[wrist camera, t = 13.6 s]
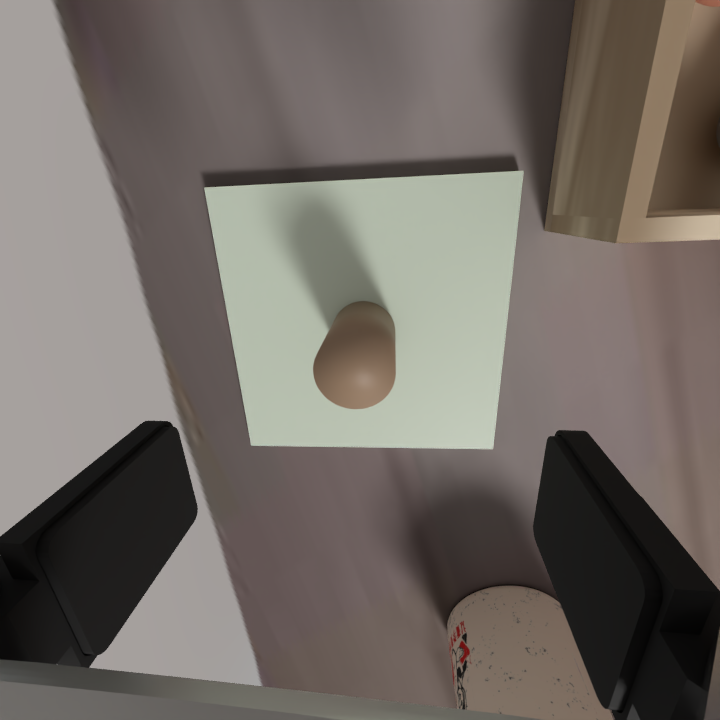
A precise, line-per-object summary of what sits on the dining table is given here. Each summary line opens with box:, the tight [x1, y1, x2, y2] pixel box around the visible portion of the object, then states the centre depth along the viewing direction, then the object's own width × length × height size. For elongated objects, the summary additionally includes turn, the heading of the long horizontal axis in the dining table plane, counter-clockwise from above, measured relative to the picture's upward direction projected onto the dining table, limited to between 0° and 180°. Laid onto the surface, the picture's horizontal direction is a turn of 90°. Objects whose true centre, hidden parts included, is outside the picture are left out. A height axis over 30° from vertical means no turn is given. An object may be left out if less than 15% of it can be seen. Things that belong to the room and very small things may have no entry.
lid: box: [204, 171, 524, 449], centre depth 17 cm, size 14×14×6 cm
